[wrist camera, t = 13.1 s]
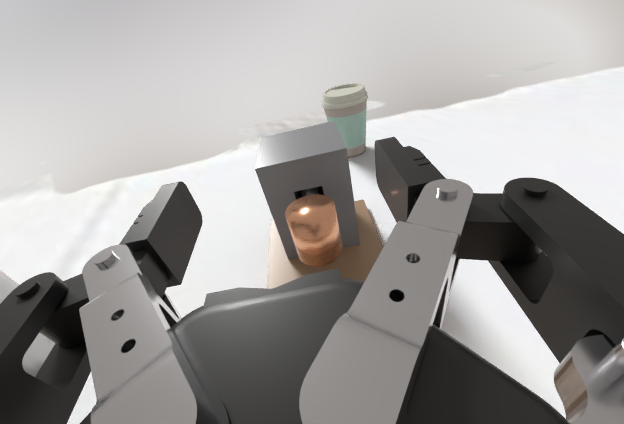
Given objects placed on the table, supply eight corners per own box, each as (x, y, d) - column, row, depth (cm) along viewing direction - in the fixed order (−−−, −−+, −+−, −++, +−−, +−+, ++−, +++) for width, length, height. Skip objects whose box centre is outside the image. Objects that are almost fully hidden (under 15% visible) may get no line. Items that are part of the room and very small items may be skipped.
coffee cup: (380, 145, 57) (377, 82, 50) (353, 164, 53) (344, 99, 46) (349, 138, 62) (341, 81, 55) (321, 155, 59) (310, 96, 52)
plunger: (346, 261, 26) (338, 218, 23) (299, 271, 26) (285, 230, 23) (327, 184, 37) (320, 149, 34) (294, 191, 37) (284, 157, 34)
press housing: (427, 361, 24) (438, 240, 15) (265, 391, 24) (192, 291, 16) (364, 206, 42) (353, 113, 34) (273, 225, 43) (241, 139, 35)
